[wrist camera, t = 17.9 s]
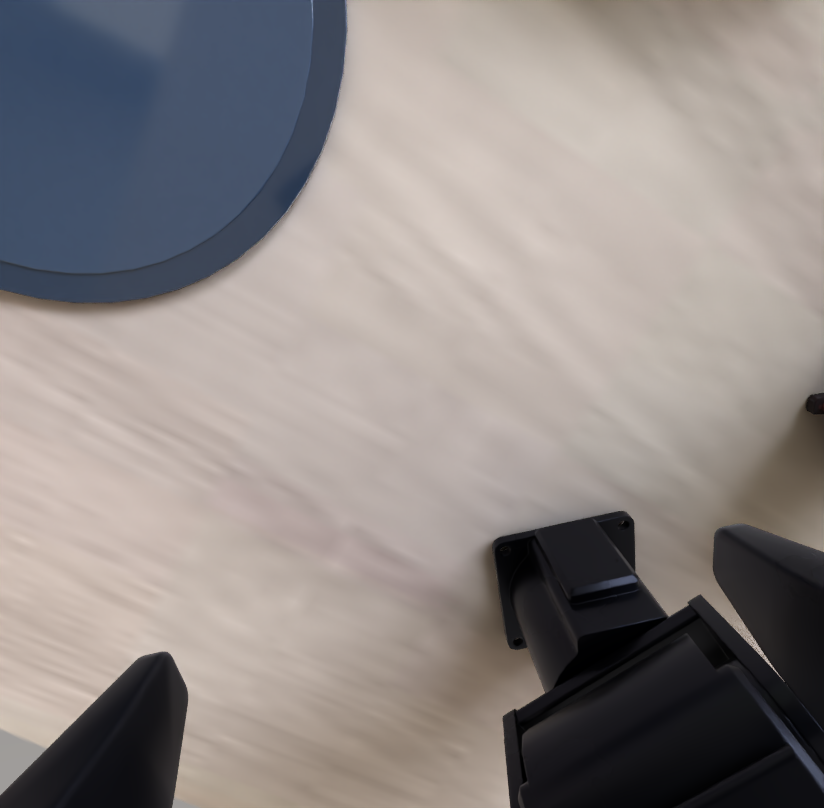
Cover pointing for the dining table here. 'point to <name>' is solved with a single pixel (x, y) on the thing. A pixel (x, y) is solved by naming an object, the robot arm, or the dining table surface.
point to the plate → (155, 136)
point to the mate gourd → (816, 404)
